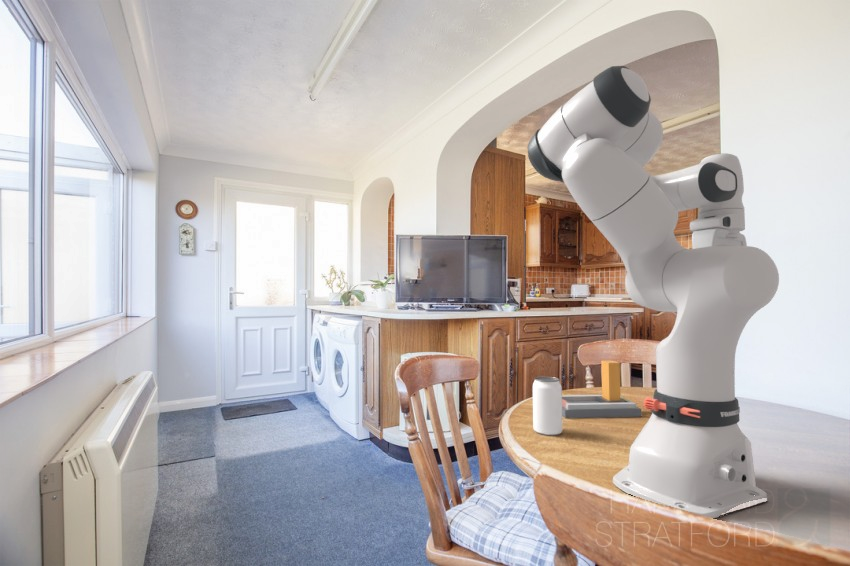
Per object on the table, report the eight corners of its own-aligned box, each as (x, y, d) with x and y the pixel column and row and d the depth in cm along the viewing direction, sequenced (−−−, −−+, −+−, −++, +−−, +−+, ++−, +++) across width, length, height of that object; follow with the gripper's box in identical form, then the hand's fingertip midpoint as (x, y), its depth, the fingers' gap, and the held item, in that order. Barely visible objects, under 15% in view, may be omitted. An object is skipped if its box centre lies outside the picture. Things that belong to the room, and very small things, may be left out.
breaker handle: (614, 399, 110) (613, 359, 111) (626, 405, 104) (625, 363, 105) (596, 399, 110) (596, 360, 111) (607, 405, 104) (606, 363, 105)
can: (565, 429, 92) (564, 377, 93) (558, 438, 87) (557, 382, 87) (537, 425, 96) (537, 375, 96) (529, 432, 90) (528, 379, 91)
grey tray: (618, 405, 113) (618, 393, 113) (641, 416, 102) (641, 404, 102) (549, 406, 112) (549, 394, 112) (565, 418, 101) (565, 405, 101)
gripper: (724, 230, 102) (726, 284, 101) (685, 222, 91) (687, 282, 91) (754, 226, 97) (756, 283, 96) (717, 217, 86) (719, 281, 85)
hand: (722, 282), depth 93 cm, fingers open, 8 cm apart
